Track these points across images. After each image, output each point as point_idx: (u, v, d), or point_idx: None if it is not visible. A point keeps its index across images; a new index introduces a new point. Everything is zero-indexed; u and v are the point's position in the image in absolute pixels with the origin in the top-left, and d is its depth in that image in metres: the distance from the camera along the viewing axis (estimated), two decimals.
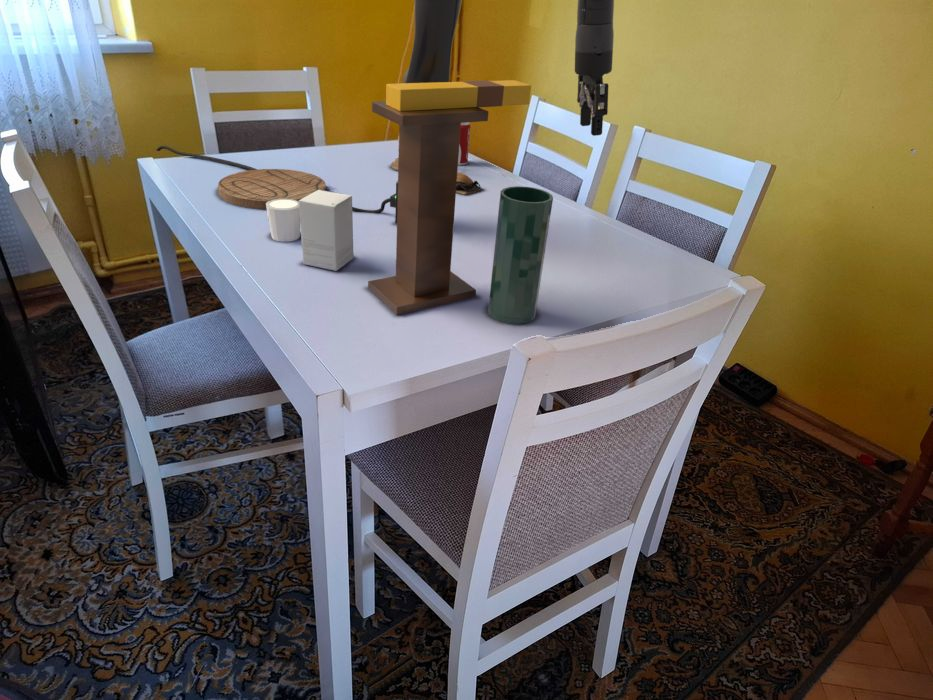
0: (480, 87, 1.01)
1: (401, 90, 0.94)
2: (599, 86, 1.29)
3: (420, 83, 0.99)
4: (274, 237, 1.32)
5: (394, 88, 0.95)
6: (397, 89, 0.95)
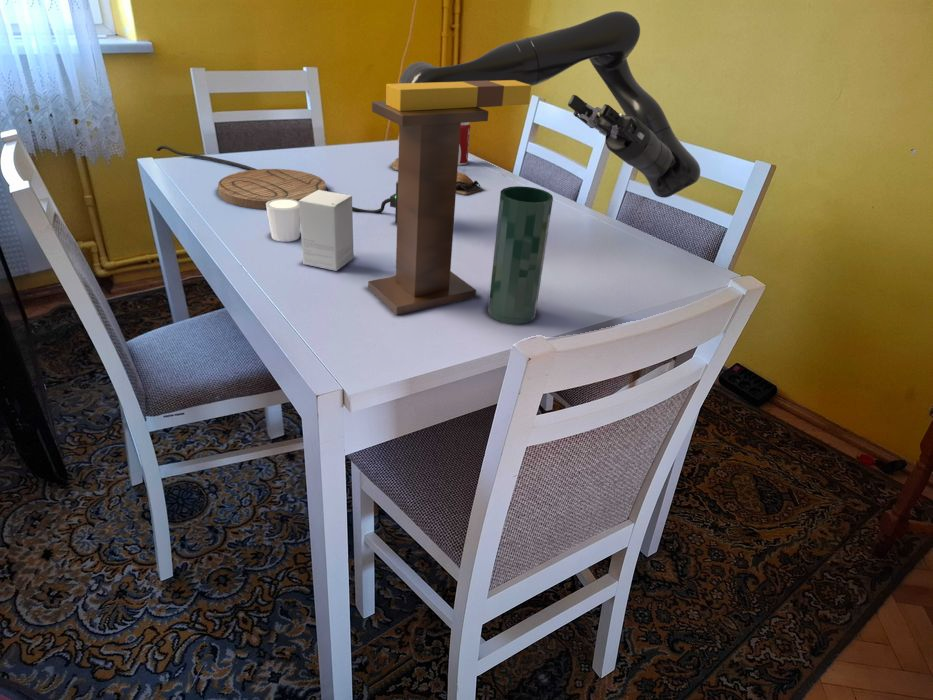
0: (480, 87, 1.01)
1: (401, 90, 0.94)
2: (644, 134, 1.19)
3: (420, 83, 0.99)
4: (274, 237, 1.32)
5: (394, 88, 0.95)
6: (397, 89, 0.95)
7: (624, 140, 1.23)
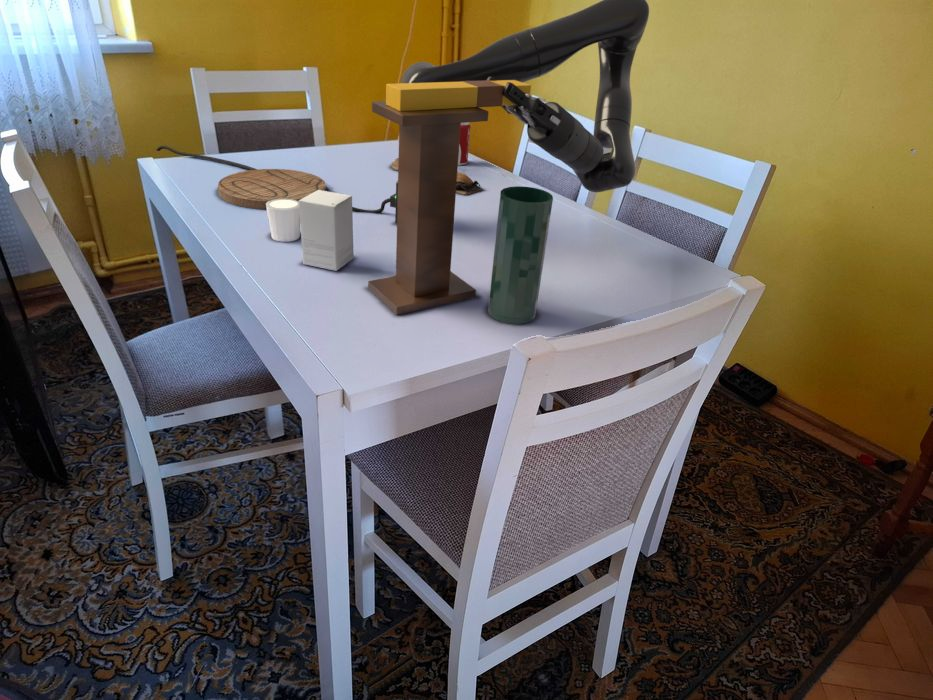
0: (480, 87, 1.01)
1: (401, 90, 0.94)
2: (560, 119, 1.07)
3: (420, 83, 0.99)
4: (274, 237, 1.32)
5: (394, 88, 0.95)
6: (397, 89, 0.94)
7: (545, 129, 1.12)
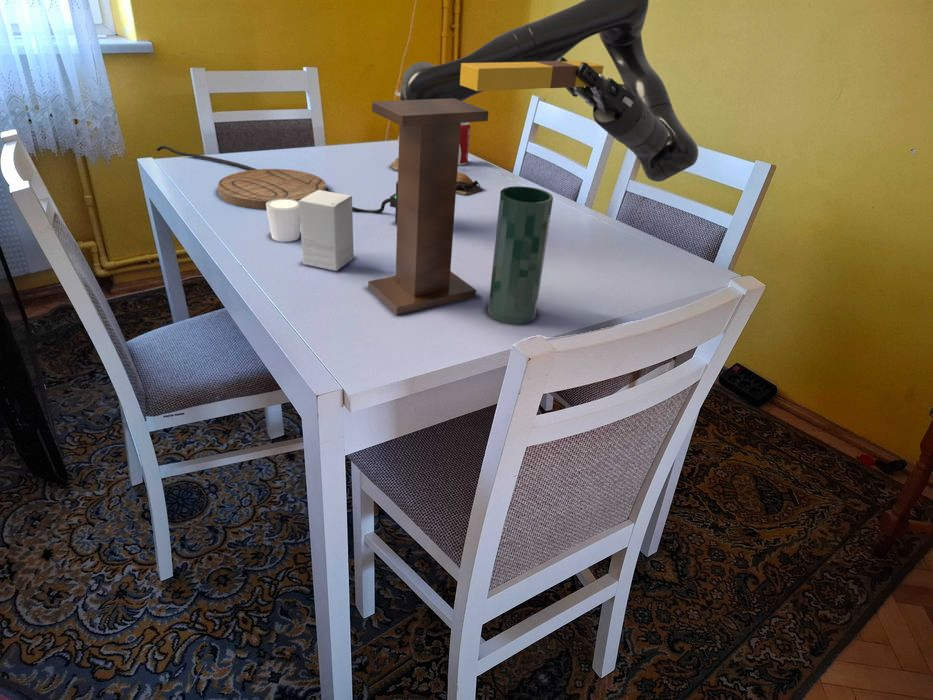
0: (555, 67, 0.98)
1: (479, 69, 0.91)
2: (633, 100, 1.04)
3: (494, 63, 0.96)
4: (274, 237, 1.32)
5: (471, 67, 0.92)
6: (474, 68, 0.91)
7: (614, 112, 1.09)
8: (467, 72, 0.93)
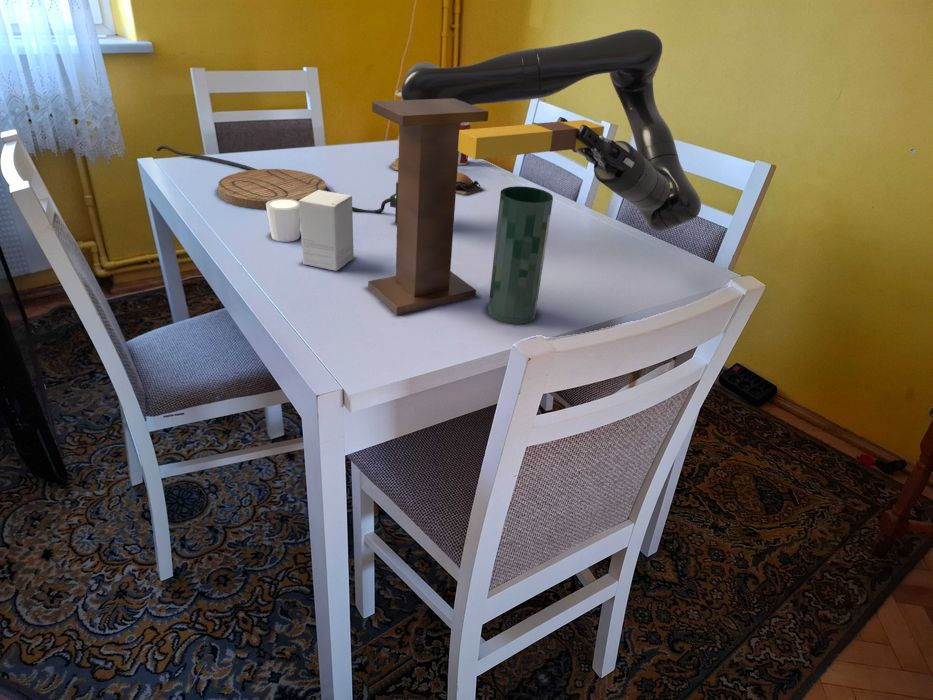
0: (555, 131, 0.96)
1: (477, 138, 0.89)
2: (634, 161, 1.02)
3: (493, 128, 0.95)
4: (274, 237, 1.32)
5: (469, 135, 0.91)
6: (473, 137, 0.90)
7: (615, 170, 1.07)
8: (465, 140, 0.92)
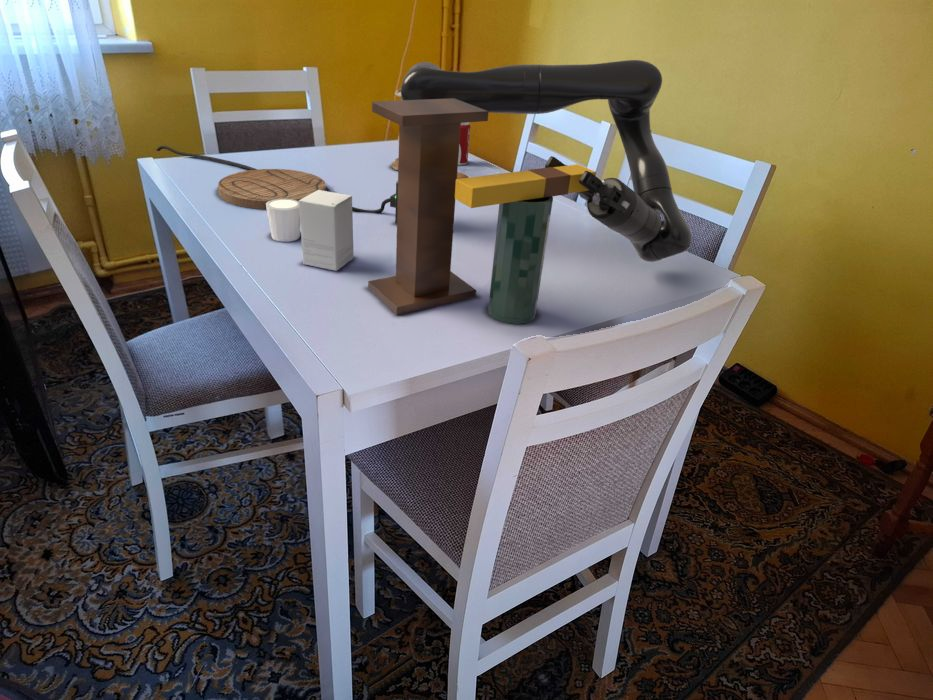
0: (548, 178, 1.00)
1: (473, 188, 0.93)
2: (629, 203, 1.06)
3: (488, 176, 0.98)
4: (274, 237, 1.32)
5: (465, 185, 0.94)
6: (469, 187, 0.94)
7: (607, 206, 1.11)
8: (462, 189, 0.95)
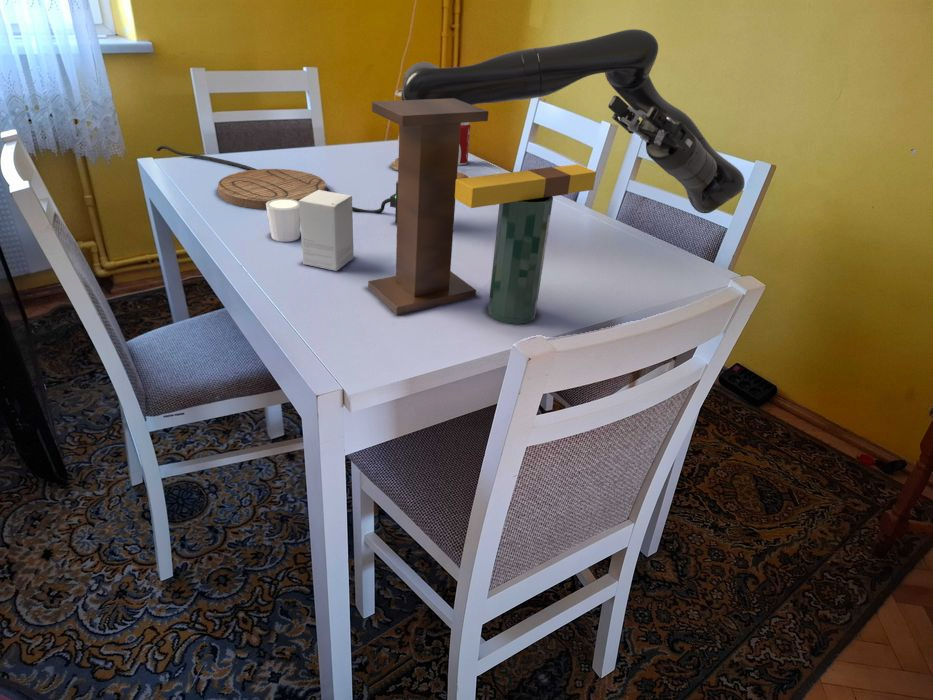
0: (548, 178, 1.00)
1: (473, 188, 0.93)
2: (692, 141, 1.07)
3: (488, 176, 0.98)
4: (274, 237, 1.32)
5: (465, 185, 0.94)
6: (469, 187, 0.94)
7: (668, 147, 1.12)
8: (462, 189, 0.95)
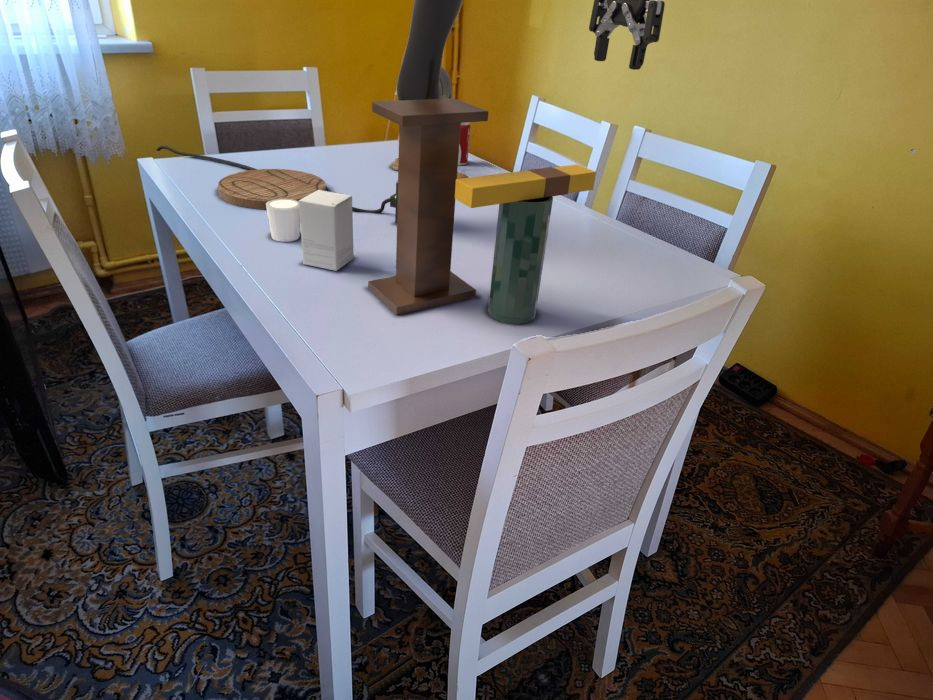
0: (548, 178, 1.00)
1: (473, 188, 0.93)
2: (656, 3, 1.02)
3: (488, 176, 0.98)
4: (274, 237, 1.32)
5: (465, 185, 0.94)
6: (469, 187, 0.94)
7: None
8: (462, 189, 0.95)
